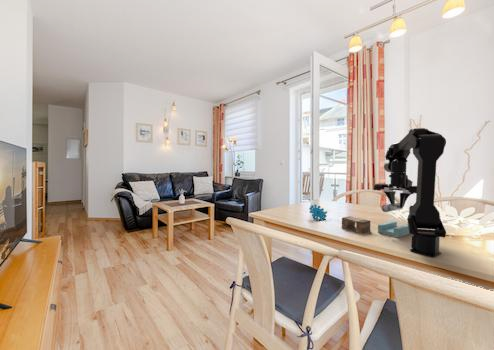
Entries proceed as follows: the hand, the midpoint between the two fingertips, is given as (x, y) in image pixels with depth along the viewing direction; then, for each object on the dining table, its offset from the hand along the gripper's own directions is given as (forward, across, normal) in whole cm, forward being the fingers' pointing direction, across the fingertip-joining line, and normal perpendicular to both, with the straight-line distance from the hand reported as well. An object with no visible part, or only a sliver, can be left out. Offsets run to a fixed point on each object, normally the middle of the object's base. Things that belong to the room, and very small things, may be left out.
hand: (397, 207), depth 100 cm
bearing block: (+11, +11, +13) cm, 20 cm away
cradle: (+11, -1, +3) cm, 11 cm away
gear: (+11, +34, +12) cm, 37 cm away
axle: (+1, 0, +4) cm, 4 cm away
